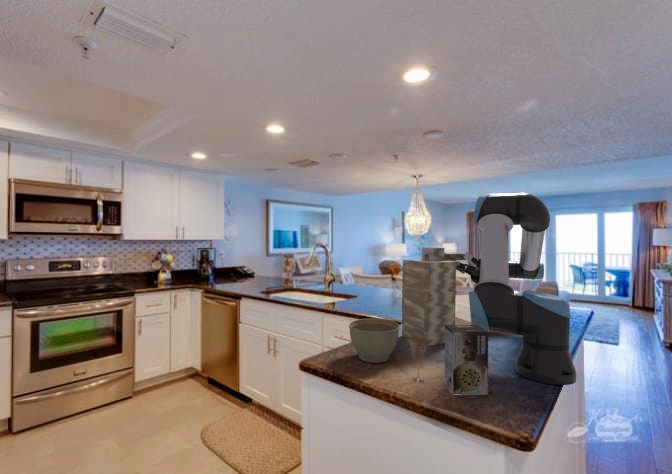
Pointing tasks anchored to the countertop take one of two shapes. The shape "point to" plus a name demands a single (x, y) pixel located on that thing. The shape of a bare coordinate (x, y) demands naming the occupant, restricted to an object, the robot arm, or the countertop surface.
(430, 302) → the birch shelf
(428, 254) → the brown box and bar
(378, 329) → the planter bowl
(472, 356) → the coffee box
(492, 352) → the countertop surface
